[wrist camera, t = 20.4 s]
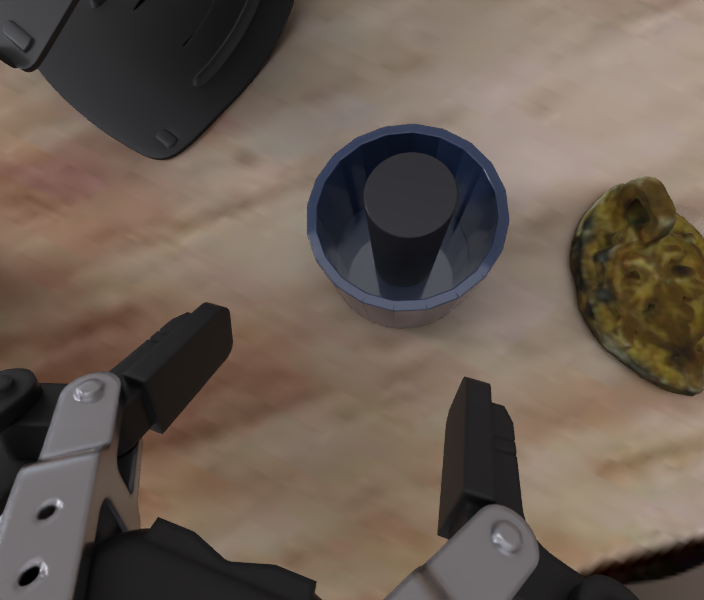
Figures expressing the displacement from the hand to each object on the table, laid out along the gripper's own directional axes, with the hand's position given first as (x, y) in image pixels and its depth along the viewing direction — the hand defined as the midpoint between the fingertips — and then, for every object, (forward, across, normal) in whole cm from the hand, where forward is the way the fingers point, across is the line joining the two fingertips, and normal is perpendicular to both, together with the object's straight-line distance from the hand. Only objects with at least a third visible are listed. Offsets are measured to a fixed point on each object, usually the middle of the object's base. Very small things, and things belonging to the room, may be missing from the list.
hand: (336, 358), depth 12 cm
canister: (+16, 0, +4) cm, 17 cm away
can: (+17, 0, +4) cm, 17 cm away
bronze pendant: (+18, -17, +3) cm, 25 cm away
